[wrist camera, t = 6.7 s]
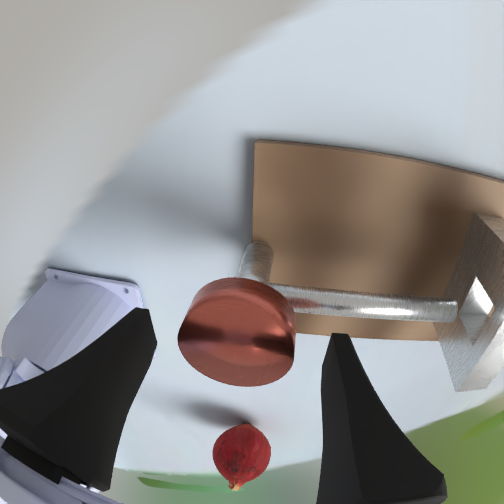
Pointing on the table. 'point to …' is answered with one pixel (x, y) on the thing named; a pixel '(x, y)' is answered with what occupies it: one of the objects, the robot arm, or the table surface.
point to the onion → (241, 454)
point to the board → (364, 226)
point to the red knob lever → (276, 319)
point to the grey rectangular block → (476, 307)
